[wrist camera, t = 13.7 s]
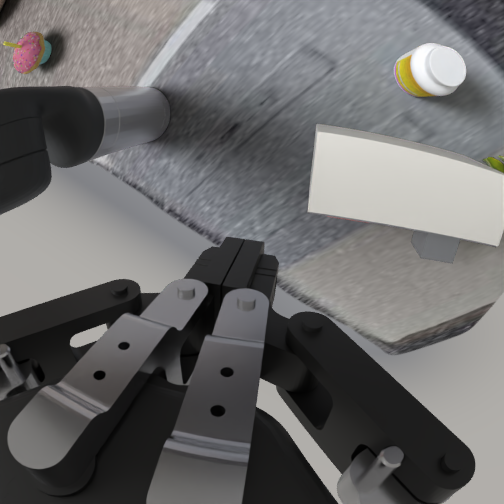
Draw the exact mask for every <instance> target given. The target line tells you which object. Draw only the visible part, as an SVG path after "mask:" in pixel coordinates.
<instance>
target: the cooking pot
mask: <svg viewBox="0 0 504 504" xmlns="http://www.w3.org/2000/svg"><path fill="white" fill-rule="evenodd" d="M5 1H6V0H0V10H1V9H2V7H3V6H4V3H5Z"/></svg>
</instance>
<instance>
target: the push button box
mask: <svg viewBox="0 0 504 504" xmlns="http://www.w3.org/2000/svg"><path fill="white" fill-rule="evenodd" d="M308 213H309V214H316V215H323V216H329V217H336V218H342V219H349V220H355V221H361V222H367V223H373V224H379V225H385V226H391V227H397V228H402V229H408V230H413V231H419V232H424V233H429V234H435V235H440V236H445V237H450V238H455V239H460V240H465V241H470V242H474V243H479V244H484V245H488V246H493V247H496V246H499V243H500V240H501V237H502V234H503V230H504V173H502V172H500V171H498V170H496V169H493V168H491V167H489V166H487V165H485V164H483V163H480V162H478V161H476V160H473V159H471V158H469V157H466V156H464V155H462V154H458V153H455V152H451V151H448V150H444V149H441V148H437V147H433V146H429V145H425V144H421V143H417V142H413V141H409V140H404V139H400V138H395V137H391V136H386V135H381V134H376V133H371V132H366V131H360V130H355V129H349V128H343V127H337V126H330V125H323V124H316V132H315V141H314V150H313V159H312V167H311V176H310V189H309V202H308Z"/></svg>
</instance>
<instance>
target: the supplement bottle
mask: <svg viewBox="0 0 504 504" xmlns="http://www.w3.org/2000/svg"><path fill="white" fill-rule="evenodd" d="M394 76H395V79H396V82H397V84H398V85H399V87H400V88H401V89H402V90H403V91H404V92H406V93H407V94H409V95H411V96H415V97H428V96H444V95H448V94H451V93H452V92H454V91H455V90H456V89H457V88H458V86H459V85H460V84H461V83H462V82H463V81H464V79H465V77H466V65H465V62H464V60H463V59H462V57H461V56H460V54H459V53H458V52H456V51H455V50H454V49H452V48H450V47H446V46H442V45H439V44H435V43H427V44H423V45H421V46H419V47H417V48H415V49H414V50H412V51H410V52H408V53H406V54H404V55H403V56H401V57H400V58H399V59H398V60H397V61H396V63H395V66H394Z"/></svg>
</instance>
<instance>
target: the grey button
mask: <svg viewBox="0 0 504 504" xmlns="http://www.w3.org/2000/svg"><path fill="white" fill-rule="evenodd" d="M459 242H460V239H455V238H450V237H445V236H440V235H435V234H429V233H424V232H419V231H414V233H413V237H412V241H411V243H412V244H413V246H414V248H415V249H416V251H417V253H418V254H419V256H420V258H423V259H429V260H435V261H441V262H447V263H453V261H454V258H455V255H456V252H457V249H458V245H459Z"/></svg>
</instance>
